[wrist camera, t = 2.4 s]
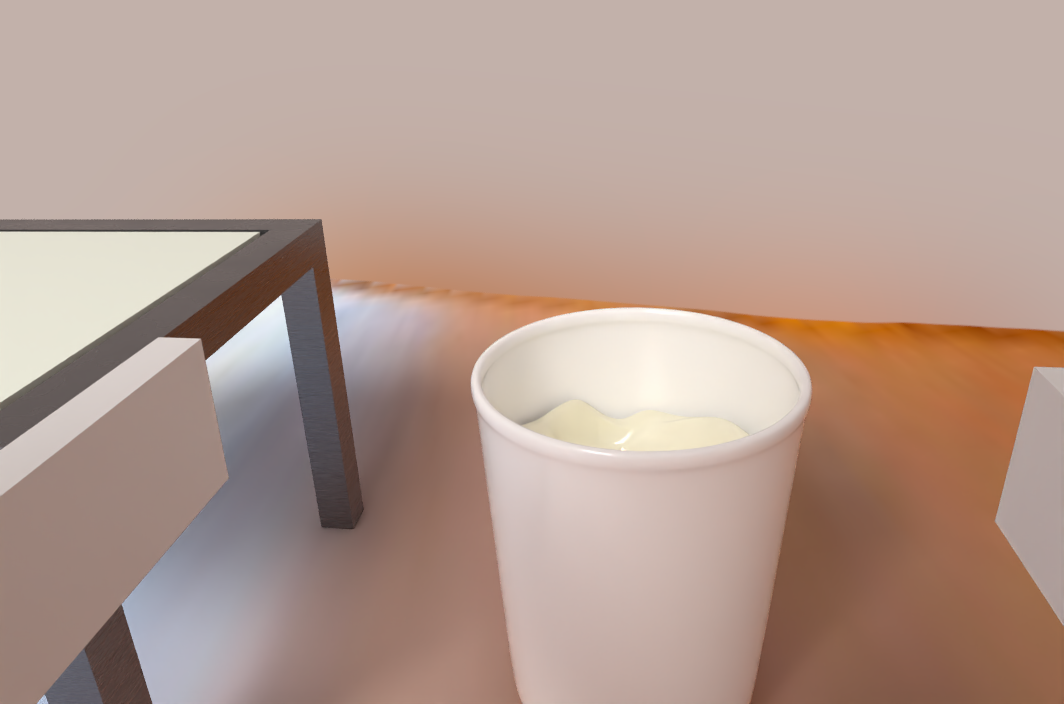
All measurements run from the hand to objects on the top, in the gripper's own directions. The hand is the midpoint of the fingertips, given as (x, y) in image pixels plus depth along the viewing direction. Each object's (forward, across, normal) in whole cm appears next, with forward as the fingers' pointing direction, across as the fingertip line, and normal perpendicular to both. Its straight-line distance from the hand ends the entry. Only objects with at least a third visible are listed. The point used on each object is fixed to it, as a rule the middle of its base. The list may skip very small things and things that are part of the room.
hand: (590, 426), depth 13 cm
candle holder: (+10, +1, -16) cm, 19 cm away
